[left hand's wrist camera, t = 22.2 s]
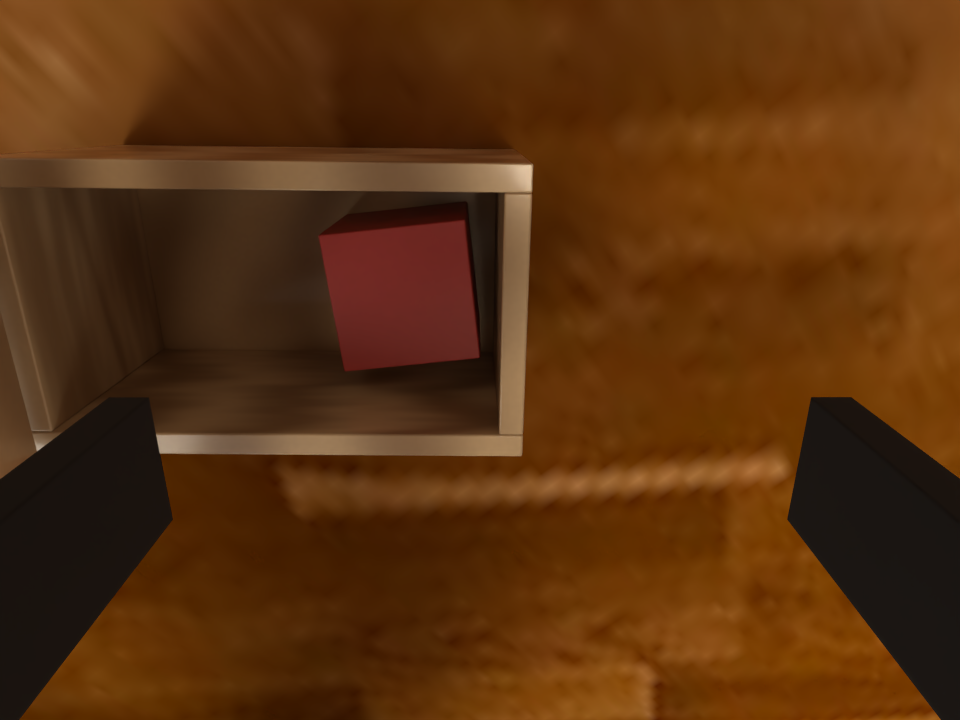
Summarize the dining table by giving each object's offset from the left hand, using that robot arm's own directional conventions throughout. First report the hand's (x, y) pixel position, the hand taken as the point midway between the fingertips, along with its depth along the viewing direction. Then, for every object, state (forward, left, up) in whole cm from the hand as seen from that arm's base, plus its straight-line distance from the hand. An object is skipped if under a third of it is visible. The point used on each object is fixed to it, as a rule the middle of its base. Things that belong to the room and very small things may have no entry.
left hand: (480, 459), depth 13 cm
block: (+2, +2, -18) cm, 18 cm away
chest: (+6, +4, -19) cm, 20 cm away
